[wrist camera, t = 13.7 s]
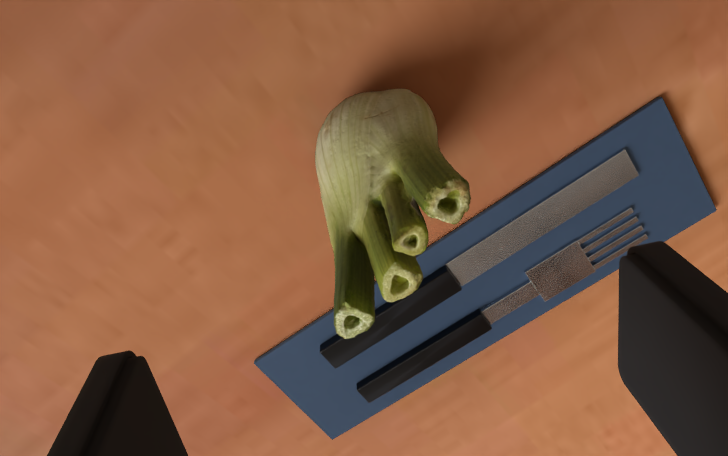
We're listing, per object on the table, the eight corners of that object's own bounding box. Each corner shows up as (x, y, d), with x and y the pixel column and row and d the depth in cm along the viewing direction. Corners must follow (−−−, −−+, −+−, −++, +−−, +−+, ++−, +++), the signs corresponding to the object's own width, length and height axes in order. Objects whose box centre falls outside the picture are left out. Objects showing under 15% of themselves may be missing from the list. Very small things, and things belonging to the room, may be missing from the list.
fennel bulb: (340, 209, 28) (350, 369, 17) (286, 122, 26) (260, 239, 15) (448, 153, 27) (532, 283, 16) (402, 58, 25) (460, 133, 14)
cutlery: (373, 402, 33) (374, 410, 32) (318, 343, 31) (318, 351, 30) (665, 226, 29) (672, 232, 28) (623, 147, 27) (629, 152, 27)
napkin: (332, 436, 34) (332, 440, 34) (254, 359, 31) (253, 363, 31) (713, 208, 29) (717, 210, 29) (659, 95, 27) (662, 97, 26)
